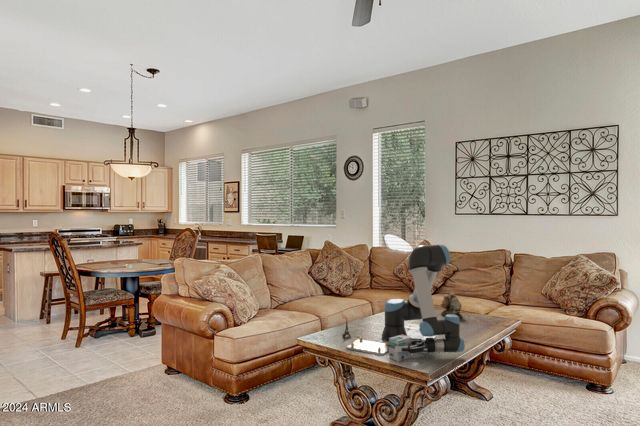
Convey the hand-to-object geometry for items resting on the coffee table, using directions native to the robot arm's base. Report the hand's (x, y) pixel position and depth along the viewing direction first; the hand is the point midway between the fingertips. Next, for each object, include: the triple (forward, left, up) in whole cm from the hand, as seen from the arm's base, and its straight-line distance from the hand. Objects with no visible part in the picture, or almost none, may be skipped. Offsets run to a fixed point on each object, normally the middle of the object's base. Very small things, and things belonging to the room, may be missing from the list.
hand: (392, 345), depth 230 cm
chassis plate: (-16, -10, -7) cm, 20 cm away
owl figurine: (-84, +58, -7) cm, 102 cm away
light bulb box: (0, +4, -7) cm, 8 cm away
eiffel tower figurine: (-37, -21, -7) cm, 43 cm away
